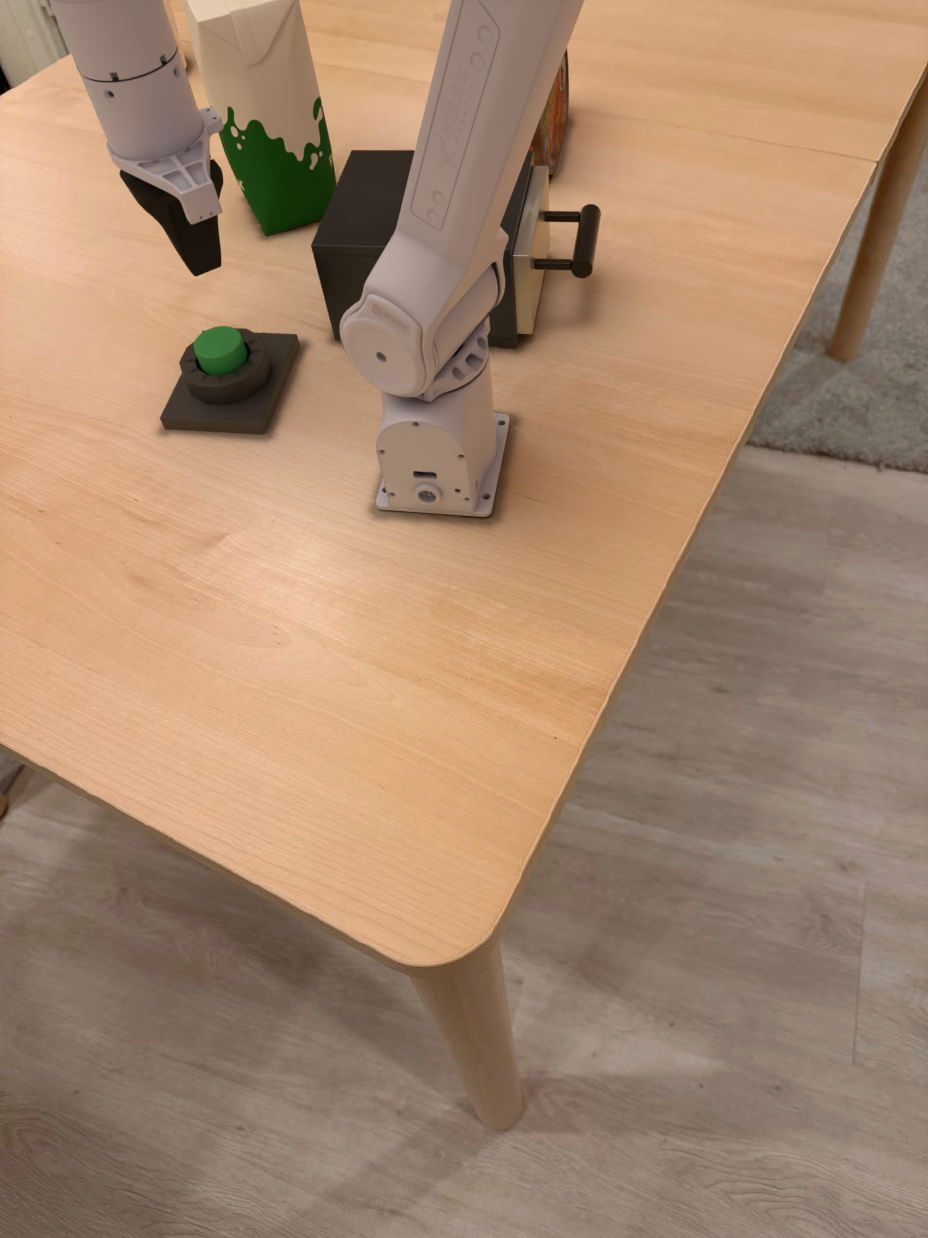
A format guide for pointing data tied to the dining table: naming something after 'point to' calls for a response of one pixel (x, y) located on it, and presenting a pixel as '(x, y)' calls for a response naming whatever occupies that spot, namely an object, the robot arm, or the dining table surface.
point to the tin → (552, 121)
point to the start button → (220, 350)
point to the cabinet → (370, 220)
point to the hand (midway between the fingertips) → (205, 266)
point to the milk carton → (266, 106)
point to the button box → (233, 388)
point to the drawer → (547, 246)
